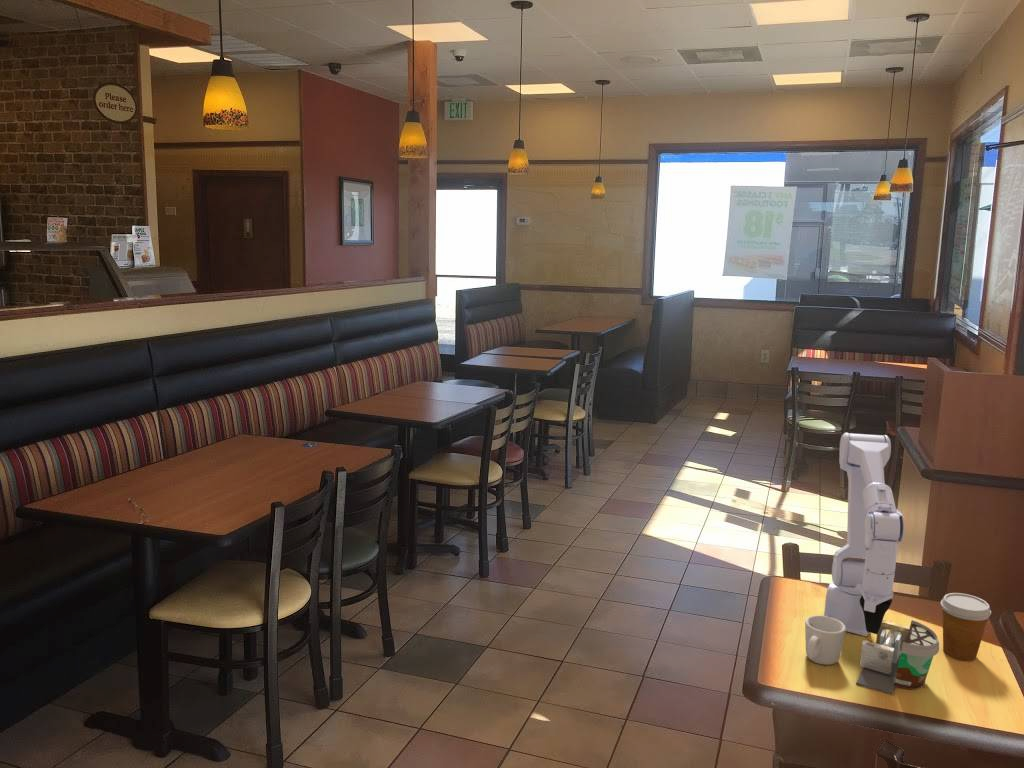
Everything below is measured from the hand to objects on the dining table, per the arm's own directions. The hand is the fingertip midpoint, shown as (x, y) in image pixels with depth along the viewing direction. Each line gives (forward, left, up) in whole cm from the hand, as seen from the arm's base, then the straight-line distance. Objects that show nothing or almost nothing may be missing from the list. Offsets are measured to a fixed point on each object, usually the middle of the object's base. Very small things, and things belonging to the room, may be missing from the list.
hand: (872, 631), depth 175 cm
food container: (+9, -1, -8) cm, 12 cm away
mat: (+3, +1, -8) cm, 8 cm away
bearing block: (+3, +5, -8) cm, 10 cm away
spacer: (+3, +8, -4) cm, 9 cm away
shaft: (+2, +4, -7) cm, 8 cm away
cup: (-9, -4, -8) cm, 13 cm away
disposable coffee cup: (+15, +17, -8) cm, 24 cm away
